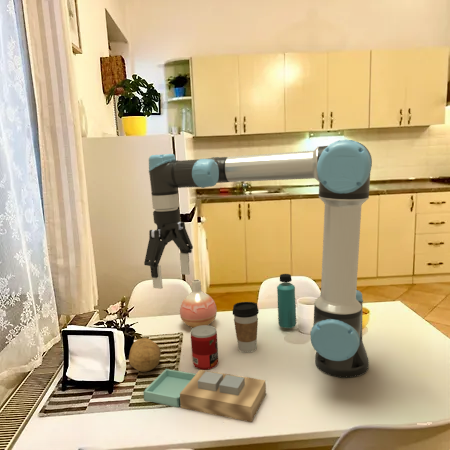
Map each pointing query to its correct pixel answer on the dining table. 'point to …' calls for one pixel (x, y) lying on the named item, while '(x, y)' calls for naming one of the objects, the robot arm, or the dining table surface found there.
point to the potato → (144, 355)
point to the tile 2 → (232, 384)
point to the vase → (197, 307)
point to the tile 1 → (210, 381)
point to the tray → (168, 387)
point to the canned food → (204, 347)
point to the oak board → (224, 399)
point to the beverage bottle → (286, 302)
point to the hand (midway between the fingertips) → (172, 280)
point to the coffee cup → (246, 325)
